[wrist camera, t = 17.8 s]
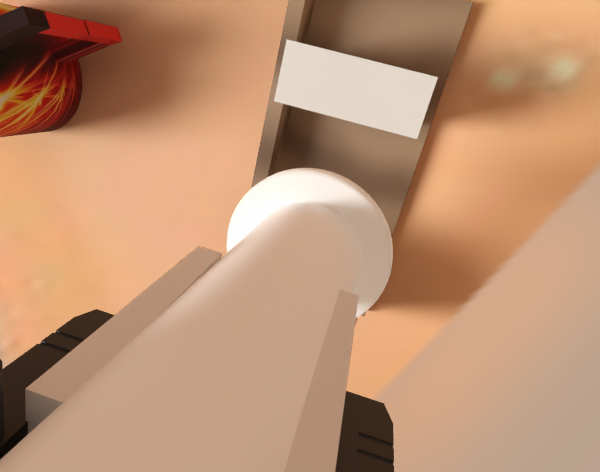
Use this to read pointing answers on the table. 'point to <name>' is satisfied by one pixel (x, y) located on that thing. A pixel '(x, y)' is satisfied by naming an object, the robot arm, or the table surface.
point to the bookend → (354, 89)
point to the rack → (348, 135)
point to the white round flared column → (228, 343)
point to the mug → (43, 67)
